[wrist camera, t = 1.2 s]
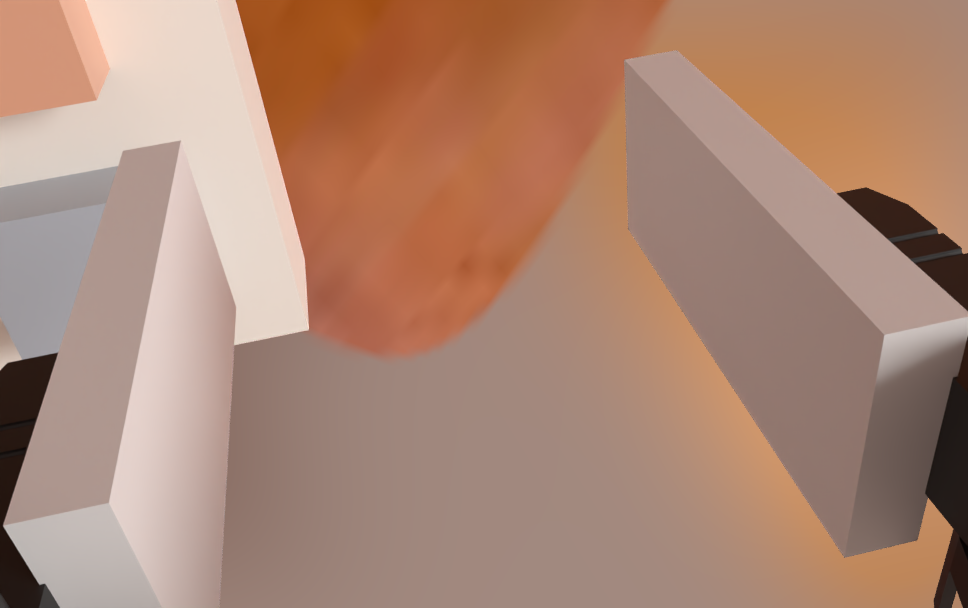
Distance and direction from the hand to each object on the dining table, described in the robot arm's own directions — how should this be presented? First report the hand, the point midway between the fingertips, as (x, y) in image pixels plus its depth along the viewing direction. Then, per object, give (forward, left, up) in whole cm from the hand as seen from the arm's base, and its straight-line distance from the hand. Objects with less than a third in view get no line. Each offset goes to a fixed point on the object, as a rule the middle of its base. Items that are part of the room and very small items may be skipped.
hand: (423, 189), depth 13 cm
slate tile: (+8, -10, -16) cm, 20 cm away
